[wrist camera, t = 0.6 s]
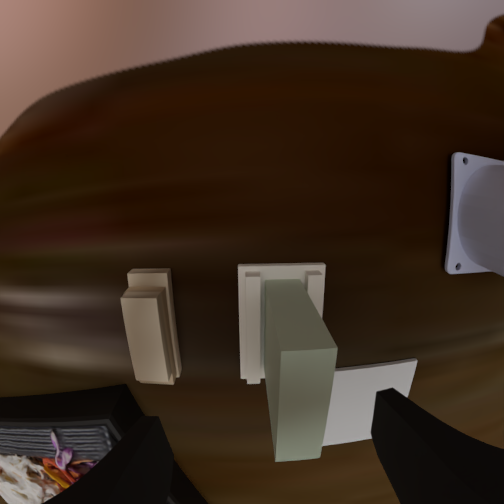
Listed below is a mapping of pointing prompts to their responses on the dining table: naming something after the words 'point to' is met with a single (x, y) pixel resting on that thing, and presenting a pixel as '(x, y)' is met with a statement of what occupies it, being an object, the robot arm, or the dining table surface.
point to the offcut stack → (151, 326)
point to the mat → (362, 397)
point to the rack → (254, 307)
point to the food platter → (67, 442)
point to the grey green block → (296, 370)
